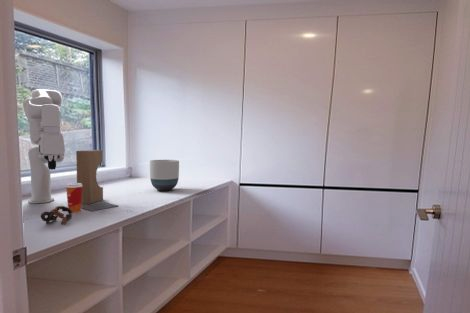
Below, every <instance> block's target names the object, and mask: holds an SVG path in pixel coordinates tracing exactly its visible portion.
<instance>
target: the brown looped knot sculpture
mask: <svg viewBox="0 0 470 313" xmlns="http://www.w3.org/2000/svg"><path fill="white" fill-rule="evenodd" d="M59 210H61V211H62V212H68V213H67V214H66V215H65V214H64V213H62V212H60V211H59ZM46 216H47V217H46ZM58 218H60V219H61V220H62V221H61V222H60V224H61V225H63V224H64V225H66V224H67V223H68V222H69V221H70V220H72V218H73V212H72V211H71V210H70V209H69V208H68V206H63V205H59V206H56V207H55V208H53V209H52V210H50V211H49V210H48V211H46V210H45V211H44V212H42V213H41V214H40V219H41V220H42V221H44V222H45V223H46V224H47V225H48V224H50V222H51V221H55V222H56V221H57V219H58Z"/></svg>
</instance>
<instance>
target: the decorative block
mask: <svg viewBox="0 0 470 313" xmlns="http://www.w3.org/2000/svg"><path fill="white" fill-rule="evenodd" d="M75 156H76V183H82V185H83V186H82V200H81V206H84V205H90V204H96V202H97V203H98V202H100V201H103V200H104V186H100V185H99V183H98V181H97V171H98V168H99V166H100V165H101V164H102V163H103V150H102V149H87V150H76V152H75Z"/></svg>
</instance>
